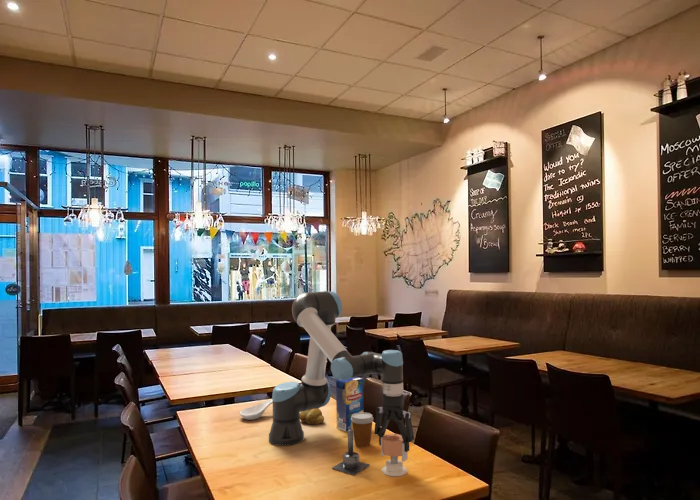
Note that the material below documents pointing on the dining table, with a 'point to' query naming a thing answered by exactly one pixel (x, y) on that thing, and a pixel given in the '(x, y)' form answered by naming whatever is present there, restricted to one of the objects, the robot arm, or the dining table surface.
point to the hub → (394, 467)
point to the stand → (350, 459)
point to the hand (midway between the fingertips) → (394, 457)
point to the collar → (392, 445)
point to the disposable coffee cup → (362, 428)
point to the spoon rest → (255, 410)
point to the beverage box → (348, 401)
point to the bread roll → (312, 416)
